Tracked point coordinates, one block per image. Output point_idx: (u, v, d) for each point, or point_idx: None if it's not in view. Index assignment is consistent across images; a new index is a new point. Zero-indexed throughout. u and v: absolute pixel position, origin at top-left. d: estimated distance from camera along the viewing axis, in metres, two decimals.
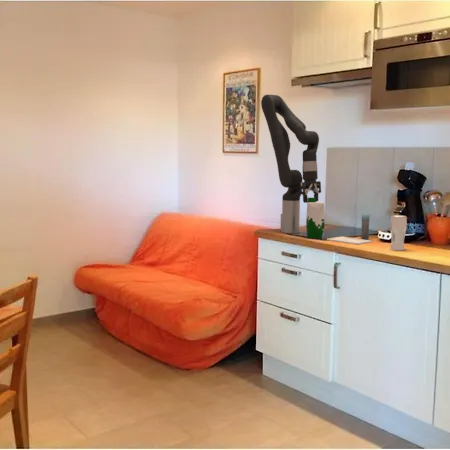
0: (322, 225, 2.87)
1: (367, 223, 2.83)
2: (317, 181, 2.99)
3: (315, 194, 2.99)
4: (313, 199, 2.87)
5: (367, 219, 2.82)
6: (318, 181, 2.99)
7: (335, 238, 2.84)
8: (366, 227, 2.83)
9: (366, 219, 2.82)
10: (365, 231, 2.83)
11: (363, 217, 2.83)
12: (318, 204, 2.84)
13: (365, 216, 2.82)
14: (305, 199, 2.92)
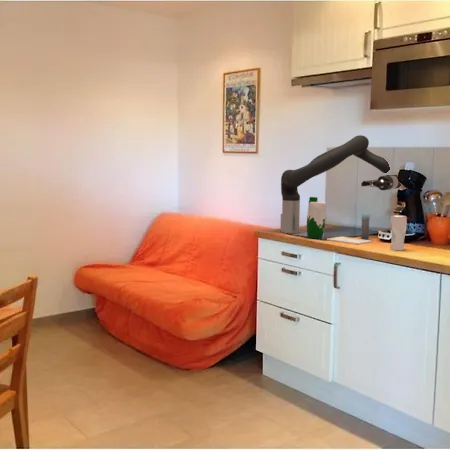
0: (323, 225, 2.87)
1: (367, 223, 2.83)
2: None
3: (366, 183, 2.95)
4: (315, 199, 2.87)
5: (367, 219, 2.82)
6: None
7: (335, 238, 2.84)
8: (366, 227, 2.83)
9: (366, 219, 2.82)
10: (365, 231, 2.83)
11: (363, 217, 2.83)
12: (320, 204, 2.84)
13: (365, 216, 2.82)
14: (379, 186, 2.87)
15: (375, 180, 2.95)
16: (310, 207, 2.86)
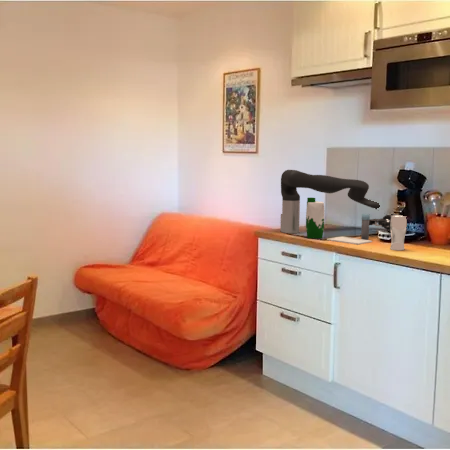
0: (322, 225, 2.87)
1: (367, 223, 2.83)
2: None
3: (372, 222, 2.95)
4: (313, 199, 2.87)
5: (367, 219, 2.82)
6: None
7: (335, 238, 2.84)
8: (366, 227, 2.83)
9: (366, 219, 2.82)
10: (365, 231, 2.83)
11: (363, 217, 2.83)
12: (318, 204, 2.85)
13: (365, 216, 2.82)
14: (385, 226, 2.87)
15: (380, 219, 2.96)
16: (308, 208, 2.86)
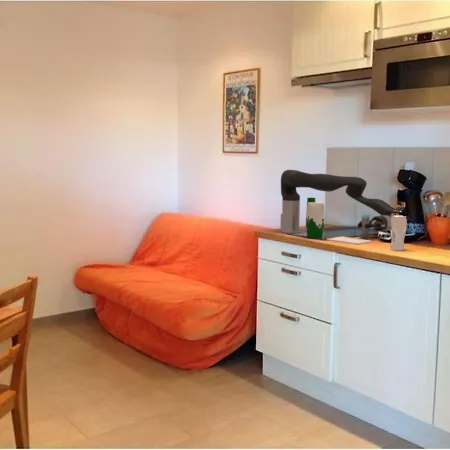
0: (322, 225, 2.87)
1: (367, 223, 2.83)
2: None
3: None
4: (313, 199, 2.87)
5: (367, 219, 2.82)
6: None
7: (335, 238, 2.84)
8: None
9: (366, 219, 2.82)
10: (365, 231, 2.83)
11: (363, 217, 2.83)
12: (318, 204, 2.85)
13: (365, 216, 2.82)
14: (368, 227, 2.82)
15: (370, 221, 2.89)
16: (308, 208, 2.86)
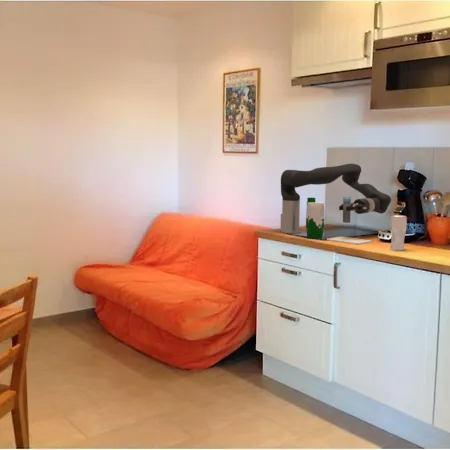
0: (322, 225, 2.87)
1: (348, 205, 2.79)
2: None
3: None
4: (313, 199, 2.87)
5: (348, 202, 2.79)
6: None
7: (335, 238, 2.84)
8: None
9: (347, 201, 2.79)
10: (346, 213, 2.80)
11: (344, 199, 2.79)
12: (318, 204, 2.85)
13: (346, 198, 2.79)
14: (349, 209, 2.78)
15: (352, 203, 2.85)
16: (308, 208, 2.86)
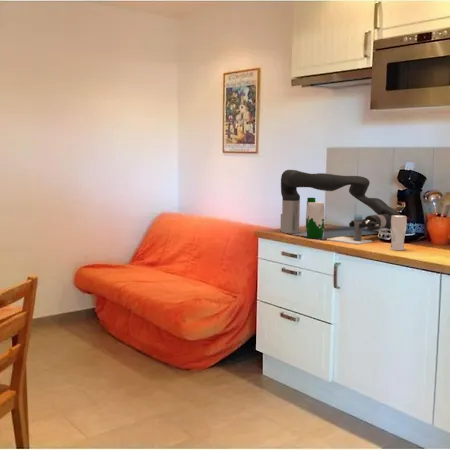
0: (322, 225, 2.87)
1: None
2: None
3: None
4: (313, 199, 2.87)
5: (360, 220, 2.75)
6: None
7: (335, 238, 2.84)
8: (359, 228, 2.75)
9: (359, 220, 2.75)
10: (357, 232, 2.76)
11: (356, 218, 2.75)
12: (318, 204, 2.85)
13: (358, 217, 2.74)
14: (362, 227, 2.74)
15: (363, 220, 2.81)
16: (308, 208, 2.86)
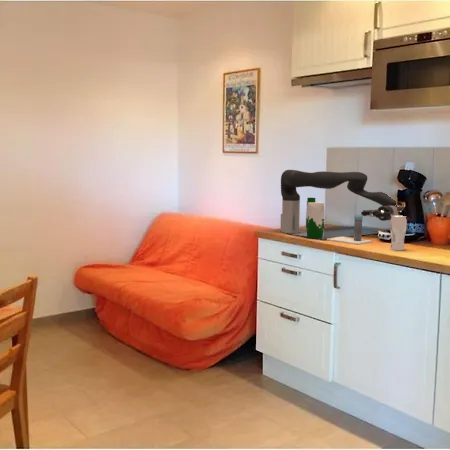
0: (322, 225, 2.87)
1: (360, 224, 2.75)
2: None
3: (366, 213, 2.90)
4: (313, 199, 2.87)
5: (360, 220, 2.75)
6: None
7: (335, 238, 2.84)
8: (359, 228, 2.75)
9: (359, 220, 2.75)
10: (357, 232, 2.76)
11: (356, 217, 2.75)
12: (319, 204, 2.85)
13: (358, 216, 2.75)
14: (379, 216, 2.82)
15: (375, 210, 2.90)
16: (308, 208, 2.86)
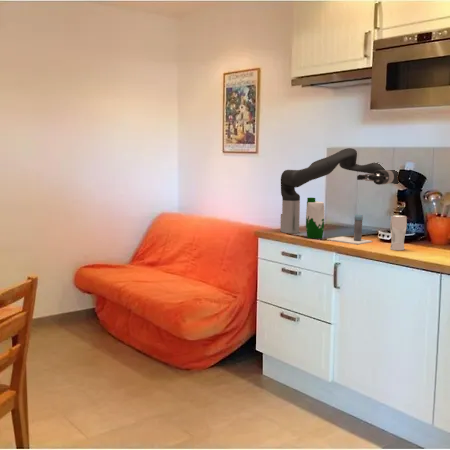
0: (322, 225, 2.87)
1: (360, 224, 2.75)
2: None
3: (362, 177, 2.92)
4: (313, 199, 2.87)
5: (360, 220, 2.75)
6: None
7: (335, 238, 2.84)
8: (359, 228, 2.75)
9: (359, 219, 2.75)
10: (357, 232, 2.76)
11: (356, 217, 2.75)
12: (318, 204, 2.85)
13: (358, 216, 2.75)
14: (375, 179, 2.85)
15: (371, 174, 2.93)
16: (308, 208, 2.86)
